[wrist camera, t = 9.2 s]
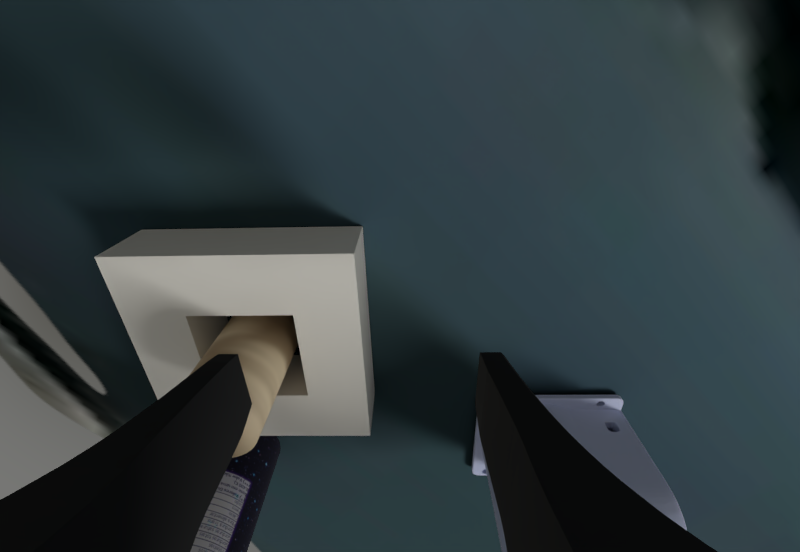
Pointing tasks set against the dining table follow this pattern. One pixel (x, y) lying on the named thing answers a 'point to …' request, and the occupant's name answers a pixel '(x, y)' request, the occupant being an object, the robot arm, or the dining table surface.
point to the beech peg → (257, 363)
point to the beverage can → (238, 500)
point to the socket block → (254, 312)
